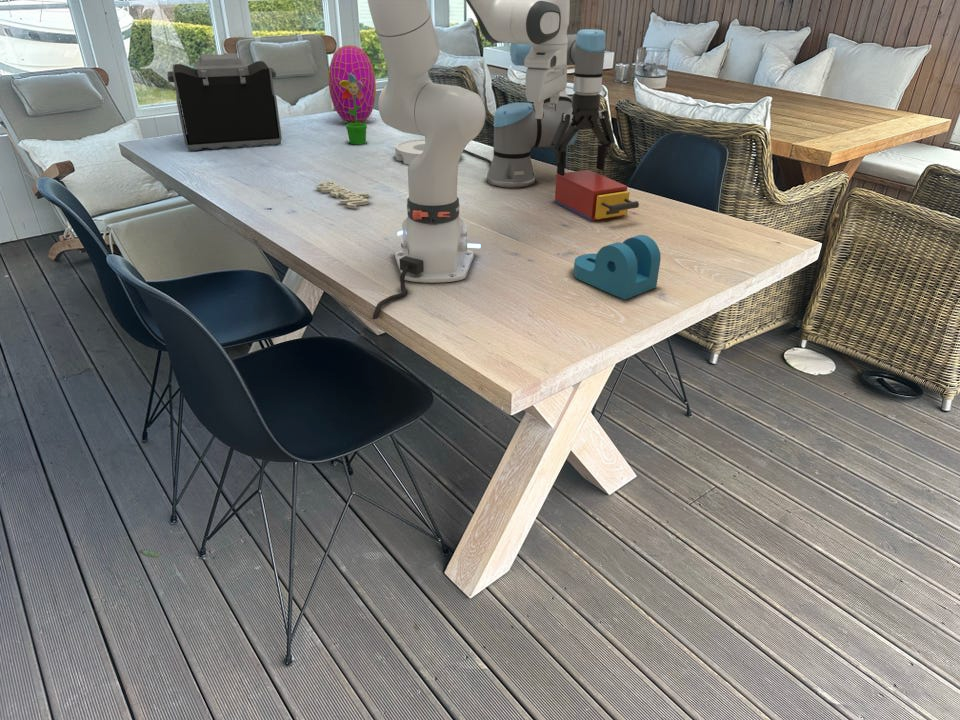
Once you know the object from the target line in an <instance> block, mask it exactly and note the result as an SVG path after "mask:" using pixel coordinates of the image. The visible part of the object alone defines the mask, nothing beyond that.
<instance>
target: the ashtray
mask: <svg viewBox="0 0 960 720" xmlns="http://www.w3.org/2000/svg"><path fill="white" fill-rule="evenodd" d="M424 147H425V138H416V139H415V138H414V139H408V140H404V141H399V142H398V143H396V144H395V146H394V150H395V151H394V152H395V153H394V154H395V160H396V161H397V162H403V164H404V165H408V166H409V164H410V162H411V161H412V160H413V159H414V158H415V157H416V156H418V155H419V154H421V153H423V151H424ZM461 158H462V156H461V157H460V160H462V159H461Z"/></svg>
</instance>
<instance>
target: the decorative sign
mask: <svg viewBox="0 0 960 720" xmlns="http://www.w3.org/2000/svg"><path fill="white" fill-rule="evenodd" d="M316 190H317V191H320V193H322V194H326V193H327V194H328V193H329V195H330V197H335V198H336V199H338V198H343V199H340V200H339V204H340V205H346V208H349V209H353V210H356V209H357V207H358V206H364V205H365V206H366V205H369V203H370V202H369V197H370V196H369V195H370V194H369V193H368V192H354V191H352V190H350V189H348V188H346V187H343V186H342V185H339V183H336V182H333V180H327V181H325V182H323V181H320V182H319V184H318V186H317V185H316Z"/></svg>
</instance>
